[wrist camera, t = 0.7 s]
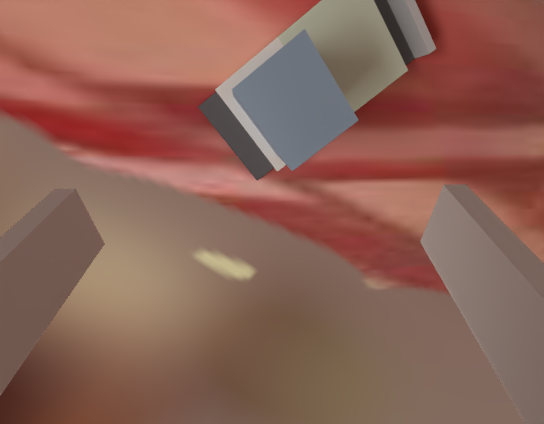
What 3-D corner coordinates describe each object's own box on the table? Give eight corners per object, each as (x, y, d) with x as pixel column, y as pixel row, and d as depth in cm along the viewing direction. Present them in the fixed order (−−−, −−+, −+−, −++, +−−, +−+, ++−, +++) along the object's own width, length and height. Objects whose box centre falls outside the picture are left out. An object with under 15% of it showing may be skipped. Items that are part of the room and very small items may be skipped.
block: (233, 96, 27) (232, 89, 19) (282, 55, 27) (304, 28, 18) (276, 154, 30) (292, 171, 21) (323, 117, 29) (358, 120, 21)
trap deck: (198, 107, 30) (194, 106, 27) (374, -40, 28) (389, -57, 25) (256, 179, 33) (258, 185, 31) (418, 54, 31) (436, 48, 28)
